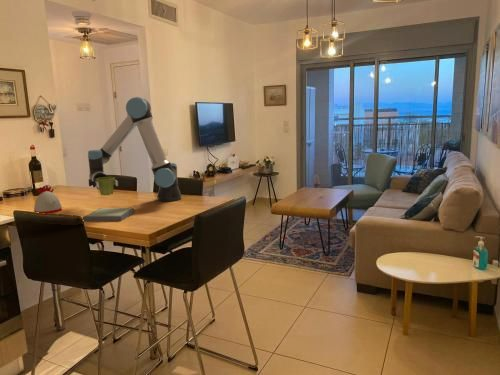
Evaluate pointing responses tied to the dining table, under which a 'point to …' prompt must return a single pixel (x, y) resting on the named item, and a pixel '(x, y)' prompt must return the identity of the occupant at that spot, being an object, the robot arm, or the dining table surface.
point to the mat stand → (109, 214)
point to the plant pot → (106, 185)
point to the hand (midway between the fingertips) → (107, 184)
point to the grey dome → (47, 202)
